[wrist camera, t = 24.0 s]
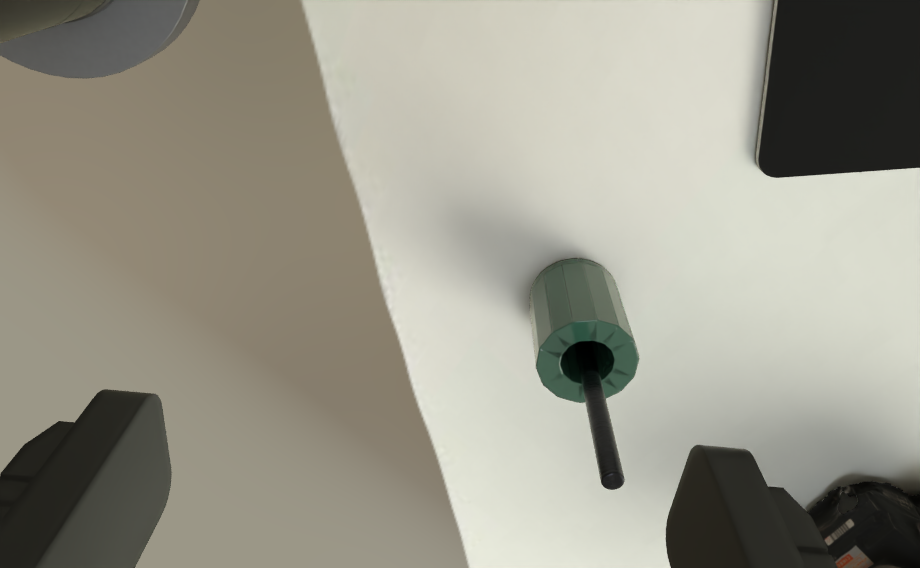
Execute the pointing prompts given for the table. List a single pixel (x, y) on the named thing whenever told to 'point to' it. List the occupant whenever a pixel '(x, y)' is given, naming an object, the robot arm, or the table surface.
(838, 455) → the table surface
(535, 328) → the holder
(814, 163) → the tablet
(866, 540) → the movie camera
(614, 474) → the stylus
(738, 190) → the table surface
